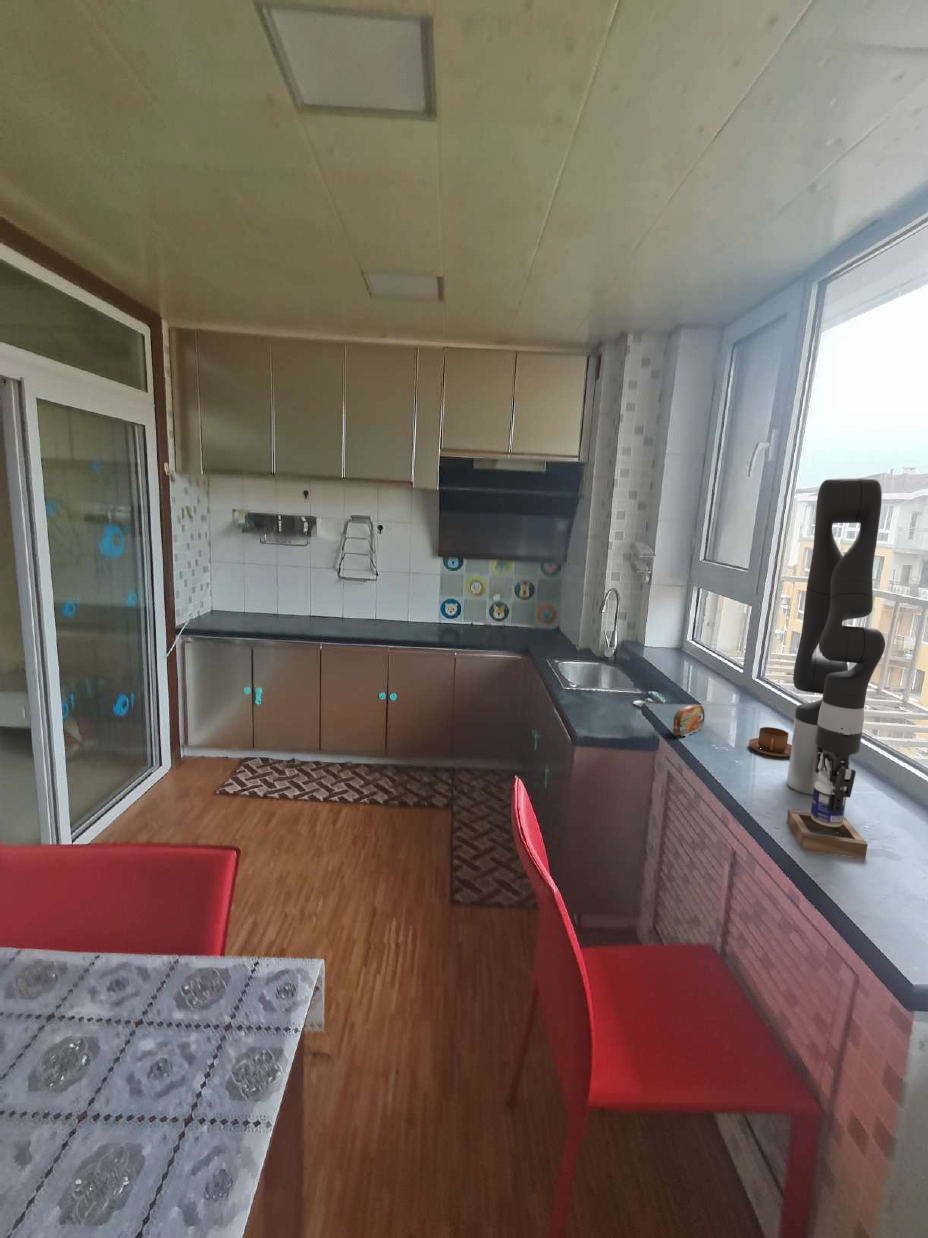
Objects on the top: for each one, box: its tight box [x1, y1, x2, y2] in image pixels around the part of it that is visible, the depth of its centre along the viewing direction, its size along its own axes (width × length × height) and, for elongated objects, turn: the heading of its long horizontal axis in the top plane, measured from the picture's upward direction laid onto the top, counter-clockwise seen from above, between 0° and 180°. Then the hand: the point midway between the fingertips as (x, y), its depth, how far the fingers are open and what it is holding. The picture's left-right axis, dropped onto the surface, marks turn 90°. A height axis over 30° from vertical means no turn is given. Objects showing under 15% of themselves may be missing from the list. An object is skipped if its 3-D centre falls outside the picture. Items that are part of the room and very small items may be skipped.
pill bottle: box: [810, 771, 847, 827], centre depth 119 cm, size 6×6×10 cm
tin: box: [673, 704, 705, 737], centre depth 181 cm, size 15×3×8 cm, turn 131°
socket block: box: [786, 809, 869, 860], centre depth 121 cm, size 11×11×3 cm
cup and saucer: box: [748, 726, 792, 758], centre depth 168 cm, size 12×12×6 cm
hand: (828, 804), depth 120 cm, fingers closed on pill bottle, 5 cm apart
